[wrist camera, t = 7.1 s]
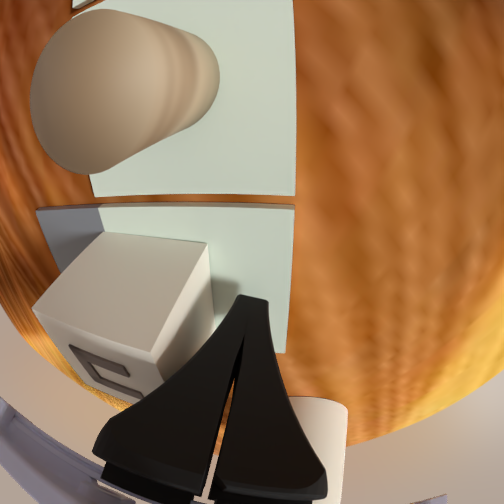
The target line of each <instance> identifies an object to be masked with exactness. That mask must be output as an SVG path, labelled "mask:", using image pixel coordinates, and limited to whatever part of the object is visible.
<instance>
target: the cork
mask: <svg viewBox="0 0 504 504" xmlns="http://www.w3.org/2000/svg"><path fill="white" fill-rule="evenodd" d="M219 83H220V71H219V65H218V61H217V58H216V56H215V54H214V52H213V51H212V49H211V48H210V46H209V45H208V44H207V43H206V42H205V41H204V40H202V39H201V38H199V37H198V36H196V35H194V34H191V33H189V32H186V31H184V30H181V29H178V28H175V27H173V26H170V25H167V24H164V23H161V22H158V21H154V20H151V19H148V18H144V17H141V16H137V15H133V14H129V13H125V12H121V11H117V10H112V9H96V10H91V11H88V12H84V13H82V14H80V15H78V16H76V17H74V18H73V19H71V20H70V21H68V22H67V23H66V24H64V25H63V26H62V27H61V28H60V29H59V30H58V31H57V32H56V33H55V34H54V35H53V36H52V38H51V39H50V40H49V42H48V43H47V45H46V46H45V48H44V49H43V51H42V53H41V55H40V57H39V59H38V62H37V65H36V67H35V70H34V74H33V78H32V83H31V91H30V110H31V117H32V123H33V126H34V130H35V133H36V135H37V137H38V140H39V142H40V143H41V145H42V147H43V149H44V150H45V151H46V153H47V154H48V155H49V156H50V157H51V159H52V160H54V161H55V162H56V163H57V164H58V165H60V166H61V167H63V168H64V169H66V170H68V171H71V172H74V173H77V174H84V175H88V174H96V173H101V172H103V171H106V170H108V169H110V168H112V167H114V166H115V165H117V164H119V163H120V162H122V161H124V160H126V159H127V158H129V157H131V156H133V155H135V154H136V153H138V152H140V151H142V150H144V149H146V148H148V147H150V146H151V145H153V144H155V143H157V142H159V141H161V140H163V139H165V138H167V137H169V136H172V135H174V134H176V133H178V132H180V131H182V130H184V129H186V128H189V127H190V126H192V125H194V124H195V123H196V122H198V121H199V120H200V119H201V118H202V117H203V116H204V115H205V114H206V113H207V112H208V110H209V109H210V108H211V106H212V104H213V102H214V100H215V98H216V96H217V92H218V89H219Z"/></svg>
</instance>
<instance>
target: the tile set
mask: <svg viewBox="0 0 504 504" xmlns="http://www.w3.org/2000/svg"><path fill="white" fill-rule="evenodd" d="M92 1H94V0H73V7H72V8H77V9H79V8H81V7H83V6H85V5H87V4H88V3H90V2H92ZM96 9H112V10H117V11H121V12H125V13H129V14H133V15H137V16H141V17H144V18H148V19H151V20H154V21H158V22H161V23H164V24H167V25H170V26H173V27H175V28H178V29H181V30H184V31H186V32H189V33H191V34H194V35H196V36H198V37H199V38H201V39H202V40H204V41H205V42H206V43H207V44H208V45H209V46H210V48H211V49H212V51H213V52H214V54H215V56H216V58H217V61H218V65H219V71H220V83H219V89H218V92H217V96H216V98H215V100H214V102H213V104H212V106H211V108H210V109H209V110H208V112H207V113H206V114H205V115H204V116H203V117H202V118H201V119H200V120H199V121H198V122H196V123H195V124H194V125H192V126H190V127H189V128H186V129H184V130H182V131H180V132H178V133H176V134H174V135H172V136H169V137H167V138H165V139H163V140H161V141H159V142H157V143H155V144H153V145H151V146H150V147H148V148H146V149H144V150H142V151H140V152H138V153H136V154H135V155H133V156H131V157H129V158H127V159H126V160H124V161H122V162H120V163H119V164H117V165H115V166H114V167H112V168H110V169H108V170H106V171H103V172H101V173H96V174H89V176H90V180H91V184H92V188H93V192H94V196H95V197H106V196H125V195H150V194H259V195H285V196H295V179H296V63H295V35H294V15H293V0H106V1H103V2H101V3H99V4H97V5H95V6H93V7H91V8H89V9H87V10H85V11H83V12H81V13H79V14H78V15H80V14H82V13H84V12H88V11H91V10H96ZM78 15H76V16H78ZM76 16H74V17H76ZM74 17H72V19H73V18H74ZM98 210H99V214H100V217H101V220H102V224H103V227H104V230H105V232H112V233H121V234H130V235H138V236H147V237H155V238H164V239H173V240H181V241H190V242H198V243H207V244H208V253H209V265H210V276H211V287H212V297H213V307H214V316H215V325H216V328H217V327H218V326H219V324H220V323H221V322H222V320H223V319H224V318H225V316H226V315H227V313H228V311H229V310H230V308H231V307H232V305H233V303H234V301H235V299H236V297H237V295H239V294H243V295H247V296H251V297H256V298H260V299H265V300H267V301H268V302H269V321H270V329H271V335H272V341H273V346H274V351H275V353H285V348H286V337H287V326H288V313H289V300H290V286H291V271H292V253H293V234H294V210H295V205H288V204H265V203H231V202H140V203H108V204H102V205H101V206H100V207H98Z"/></svg>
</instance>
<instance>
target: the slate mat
mask: <svg viewBox="0 0 504 504" xmlns="http://www.w3.org/2000/svg"><path fill="white" fill-rule="evenodd" d="M101 205H102V204H87V205H69V206H54V207H41V208H39V209H38V210H36V214H37V217H38V220H39V223H40V225H41V228H42V231H43V233H44V236H45V238H46V241H47V243H48V246H49V248H50V251H51V253H52V255H53V257H54V260H55V262H56V264H57V266H58V269H59V271H60V273H62V272H63V271H64V270H65V269H66V268H67V267H68V266H69V265H70V264H71V263H72V262H73V261H74V260H75V259H76V258H77V257H78V256H79V255H80V254H81V253H82V252H83V251H84V250H85V249H86V248H87V247H88V246H89V245H90V244H91V243H92V242H93V241H94V240H95V239H96V238H97V237H98V236H99V235H100V234H101V233H102V232H105V230H104V227H103V224H102V220H101V217H100V214H99V210H98V207H100V206H101Z"/></svg>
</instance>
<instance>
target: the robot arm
mask: <svg viewBox="0 0 504 504" xmlns="http://www.w3.org/2000/svg"><path fill="white" fill-rule="evenodd" d="M234 378H235V380H234ZM233 381H234V388H233V395H232V402H231V407H230V412H229V416H228V420H227V424H226V428H225V432H224V436H223V440H222V444H221V448H220V453H219V457H218V461H217V464H216V469H215V472H214V477H213V480H212V484H211V488H210V492H209V496H208V499H209V500H214V501H215V502H214V504H312V501H313V500H321V499H325V498H326V497H327V493H328V481H327V474H326V469H325V467H324V466H323V464H322V463H321V461H320V459H319V458H318V456H317V455H316V453H315V451H314V450H313V448H312V446H311V444H310V443H309V441H308V439H307V437H306V435H305V433H304V431H303V429H302V427H301V425H300V423H299V421H298V418H297V416H296V414H295V412H294V410H293V407H292V405H291V402H290V400H289V397H288V395H287V392H286V389H285V386H284V383H283V380H282V377H281V374H280V370H279V367H278V363H277V359H276V355H275V351H274V346H273V341H272V335H271V329H270V321H269V302H268V301H267V300H265V299H260V298H256V297H251V296H247V295H243V294H239V295H237V297H236V299H235V301H234V303H233V305H232V307H231V308H230V310H229V311H228V313H227V315H226V316H225V318H224V319H223V320H222V322H221V323H220V324H219V326H218V327H217V328H216V330H215V331H214V332H213V334H212V335H211V336H210V337H209V339H208V340H207V341H206V342H205V343H204V344H203V346H202V347H201V348H200V349H199V350H198V351H197V352H196V353H195V354H194V355H193V356H192V358H191V359H190V360H189V361H188V362H186V363H185V364H184V365H183V366H182V367H181V368H180V369H179V370H178V371H177V372H176V373H175V374H173V375H172V376H171V377H170V378H169V379H168V380H167V381H165V382H164V383H163V384H162V385H160V386H159V387H158V388H156V389H155V390H154V391H152V392H151V393H150V394H148V395H147V396H145V397H144V398H143V399H141V400H140V401H138V402H137V403H135V404H134V405H132V406H130V407H129V408H127V409H125V410H124V411H122V412H120V413H119V414H117V415H115V416H113V417H112V418H110V419H109V420H108V422H107V423H106V424H105V426H104V427H103V428H102V430H101V431H100V433H99V435H98V437H97V440H96V442H95V444H94V447H93V450H92V452H93V454H94V455H96V456H97V457H99V458H101V459H103V460H104V461H106V464H105V467H102V466H100V465H98V464H96V463H94V462H92V461H90V460H88V459H87V458H85V457H83V456H81V455H79V454H78V453H76V452H74V451H73V450H71V449H69V448H68V447H66V446H64V445H63V444H61V443H60V442H58V441H56V440H55V439H53V438H52V437H50V436H49V435H48V434H46V433H45V432H43V431H42V430H40V429H39V428H38V427H36V426H35V425H34V424H33V423H32V422H30V421H29V420H28V419H27V418H25V417H24V416H23V415H21V414H20V413H19V412H18V411H17V410H15V409H14V408H13V407H12V406H11V405H9V404H8V403H7V402H6V401H5V400H3V399H2V398H1V397H0V464H1V466H3V468H4V469H5V470H6V471H7V472H8V473H9V475H11V477H12V478H13V479H14V480H15V481H16V482H17V483H18V484H19V485H20V486H21V487H22V488H23V489H24V490H25V491H26V492H27V493H28V494H29V495H30V496H31V497H32V498H33V499H34V500H36V501H37V502H38V503H39V504H135V503H136V502H135V501H134V500H132V499H130V498H128V497H126V496H124V495H122V494H120V493H118V492H116V491H113V490H111V489H108V488H106V487H103V486H100V485H98V483H97V480H99V481H100V482H102V483H104V484H106V485H108V486H110V487H113V488H115V489H117V490H119V491H121V492H124V493H126V494H128V495H131V496H133V497H136V498H138V499H141V500H144V501H146V502H149V503H152V504H205V503H201V502H197V501H193V499H194V495H195V496H199V497H201V496H202V492H203V489H204V487H205V484H206V479H207V476H208V472H209V468H210V464H211V460H212V456H213V452H214V448H215V444H216V440H217V436H218V432H219V428H220V424H221V420H222V416H223V412H224V408H225V405H226V402H227V398H228V395H229V393H230V390H231V387H232V384H233ZM411 504H447V494H443V495H440V496H437V497H433V498H430V499H426V500H423V501H419V502H415V503H411Z"/></svg>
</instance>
